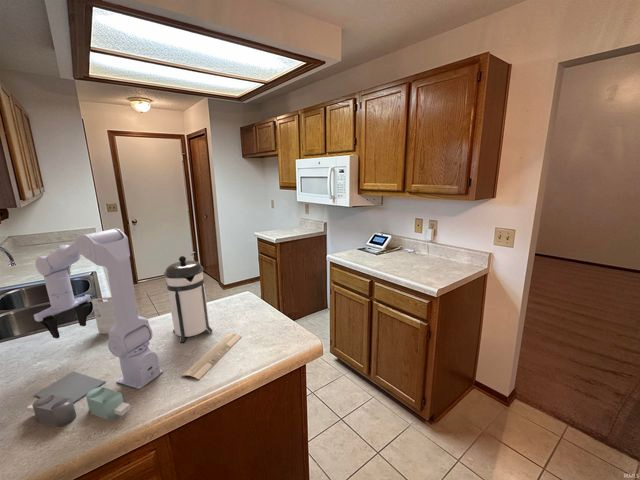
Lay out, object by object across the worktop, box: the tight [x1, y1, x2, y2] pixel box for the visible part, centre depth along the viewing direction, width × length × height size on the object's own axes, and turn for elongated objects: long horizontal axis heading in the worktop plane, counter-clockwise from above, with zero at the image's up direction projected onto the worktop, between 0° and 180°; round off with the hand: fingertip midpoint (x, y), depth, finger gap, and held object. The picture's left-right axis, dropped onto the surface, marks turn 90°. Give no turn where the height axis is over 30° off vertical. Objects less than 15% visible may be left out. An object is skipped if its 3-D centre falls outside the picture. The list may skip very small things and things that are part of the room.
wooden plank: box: [180, 332, 242, 381], centre depth 97 cm, size 24×7×2 cm, turn 164°
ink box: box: [91, 296, 116, 335], centre depth 113 cm, size 4×8×15 cm, turn 96°
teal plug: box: [85, 386, 131, 421], centre depth 75 cm, size 12×4×4 cm, turn 70°
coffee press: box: [163, 255, 213, 344], centre depth 109 cm, size 17×16×30 cm
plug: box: [26, 395, 77, 428], centre depth 73 cm, size 12×4×4 cm, turn 76°
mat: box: [33, 371, 106, 404], centre depth 84 cm, size 14×10×1 cm
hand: (70, 331), depth 95 cm, fingers open, 7 cm apart
